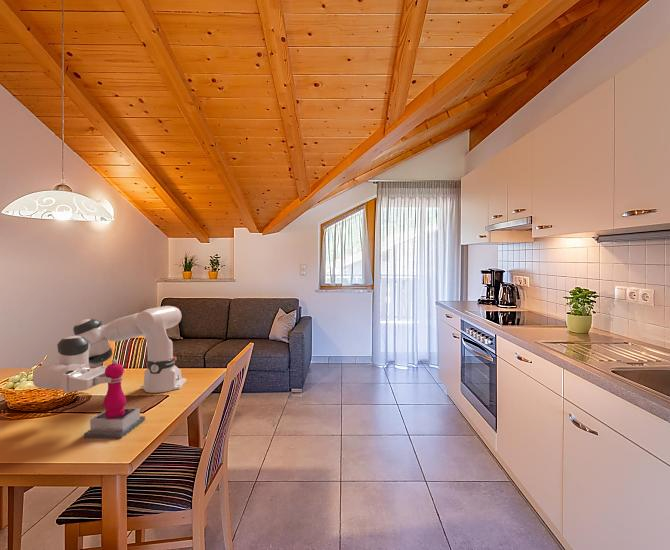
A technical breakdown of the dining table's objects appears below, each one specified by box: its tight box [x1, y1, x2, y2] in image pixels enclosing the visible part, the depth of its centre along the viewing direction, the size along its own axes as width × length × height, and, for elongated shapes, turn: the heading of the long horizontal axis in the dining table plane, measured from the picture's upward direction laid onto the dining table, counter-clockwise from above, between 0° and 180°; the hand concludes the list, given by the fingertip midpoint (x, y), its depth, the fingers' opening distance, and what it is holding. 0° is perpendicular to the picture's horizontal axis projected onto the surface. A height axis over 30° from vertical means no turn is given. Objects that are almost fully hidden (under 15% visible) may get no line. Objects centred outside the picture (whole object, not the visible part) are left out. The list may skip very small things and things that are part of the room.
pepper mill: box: [103, 359, 127, 418], centre depth 146 cm, size 7×7×20 cm
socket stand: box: [83, 407, 146, 439], centre depth 146 cm, size 16×13×6 cm
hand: (116, 377), depth 146 cm, fingers closed on pepper mill, 5 cm apart
